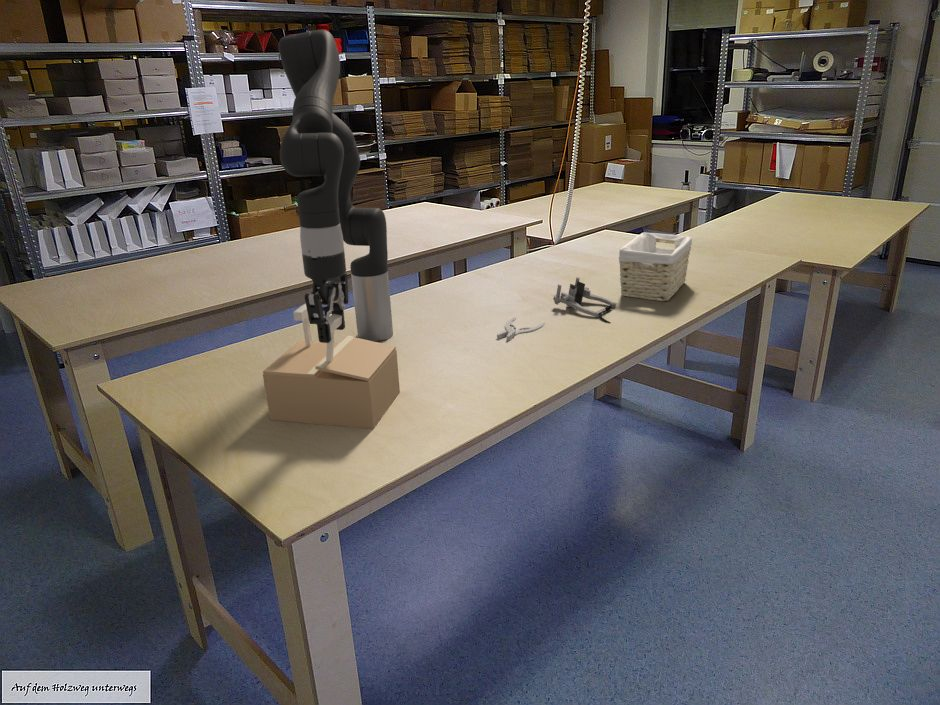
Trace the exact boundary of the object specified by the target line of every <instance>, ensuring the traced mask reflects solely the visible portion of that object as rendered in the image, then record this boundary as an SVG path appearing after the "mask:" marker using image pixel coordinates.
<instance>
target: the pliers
mask: <svg viewBox="0 0 940 705" xmlns="http://www.w3.org/2000/svg"><path fill="white" fill-rule="evenodd" d="M514 319H515V320H516V317H512V318H510V319H508V321H506V323H505V324H504V329H505V328H506V329H505V330H502V331H500V332H499V333H497V334H496V339H497V338H498V339H497V340H500V339H503V338H505V337H506V342H509V341H511V340H512V339H513V338H515V336H517V335H520V334H527V333H531V332H532V333H533V332H534V331H537V330H539V328H540V329H541V328H543V327H544V326H545V325H546V322H541V323H540V324H538V325H536V326H533V327H527V326H526V327H520V328H518V330H516V329H517V328H516V325H515V324H513V322H514V321H515V320H514ZM513 320H514V321H513ZM512 321H513V322H512ZM511 322H512V323H511ZM544 324H545V325H544ZM510 325H511V326H510ZM543 325H544V326H543ZM512 327H513V328H512ZM522 329H523V330H522ZM502 337H503V338H502ZM499 338H500V339H499ZM510 339H511V340H510Z"/></svg>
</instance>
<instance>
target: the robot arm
mask: <svg viewBox="0 0 940 705" xmlns="http://www.w3.org/2000/svg"><path fill="white" fill-rule="evenodd" d="M337 46H338V45H337V43H336V41H335V38H334V36H333V34H331V32H329V31H328V30H326V29H315V30H311V31H304V32H300V33H294V34H289V35H285V36H283V37H281V38H280V40H279V42H278V52H279V58H280V61H281V65H282V67H283V70H284V72H285V75H286V78H287V80H288V83H289V85H290V87H291V90H292V92H293V94H294V101H293V105H292V122H290V125H289V127H288V129H287V130H286V132H285V134H284V135H283V138H282V141H281V144H280V149H279V159H280V163H281V166H282V168H283V169H284V171H285V172H286V173H287V174H289V175H290V176H293V177H299V178H301V177H324V182H323V183H322V184H321V185H319V186H317V187H314V188H310V189H307V190H303V191H302V192H301V191H300V193H298V195H297V198H296V199H297V200H296V203H297V211H298V218H299V229H300V230H299V231H300V232H299V239H300V247H301V248H300V249H301V255H302V264H303V266H302V267H303V273H304V276H305V277H306V278H308V279H310V280H311V281H312V288H311V289H312V292H311V293H305V294H304V302H305V303H306V307H307V312H308V317H309V324H311V325H316V327H317V337H318V342H321V343H329V342H330V341H331V332H330V323H329V317H330V316H331V315H332V314H337V315H341V316H342V324H341V325H340V326H339V327H338V328H337V329H336V330H337V331H343V330H345V328H346V320H345V310H346V305H349V285H348V284H349V281H348V280H349V279H348V273H346V272H347V265H346V254H345V244H347V245H349V246H356V247H357V246H358V247H359V246H363V247H365V246H366V247H369V250H368V251H369V252H368V254H366V255H363V256H360V257H358V258H355V259H353V260H352V261H351V263H350V266H349V267H350V274H351V275H350V276H351V285H352V294H353V295H352V296H353V302H354V303H353V304H354V311H355V323H356V324H355V325H356V331H357V333H356V334H357V338H360V339H364V340H369V341H374V342H380V341H383V340H384V341H385V340H388V339H389V338H391V337H392V336H393V335H394V328H393V317H392V316H393V315H392V305H391V304H392V302H391V293H390V292H391V291H390V281H389V280H390V279H389V272H388V271H389V270H388V262H389V261H388V257H389V256H388V254H389V252H388V234H387V233H388V230H387V220H386V215H385V213H384V211H383V210H382V209H381V208H379V207H355V206H354V205H353V203H352V198H351V192H352V187H353V186H354V183H355V182H356V179H357V176H358V173H359V170H360V166H361V156H360V153H359V149H358V146H357V142H356V139H355V136H354V134H353V131H352V130H351V129H350V127H349V126H348V125H347V124H346V123H345V122H344V121H343V120H342V119H340V118H339V117H338V116H337V115H336V114H335V113H333V104H334V99H335V95H336V92H337V87H338V82H339V79H340V73H341V60H340V59H341V58H340V54H339V50H338V47H337ZM344 243H345V244H344ZM330 313H331V314H330ZM336 330H335V331H336Z"/></svg>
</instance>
